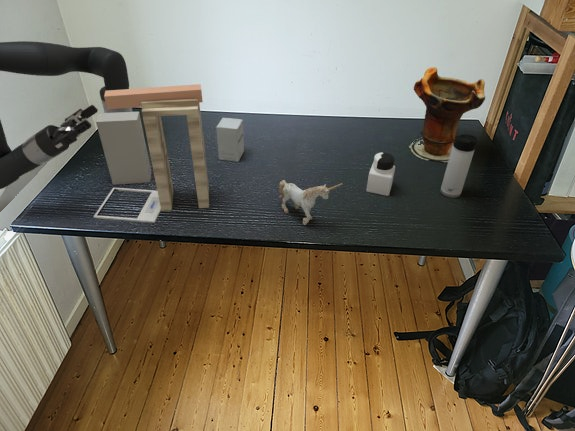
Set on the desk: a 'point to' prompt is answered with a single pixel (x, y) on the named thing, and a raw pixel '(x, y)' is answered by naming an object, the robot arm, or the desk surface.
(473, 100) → the decorative vase
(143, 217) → the photo frame
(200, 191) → the bridge
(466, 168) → the travel mug
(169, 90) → the bar
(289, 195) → the unicorn figurine
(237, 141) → the supplement box
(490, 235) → the desk surface
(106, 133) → the post
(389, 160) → the medicine bottle
